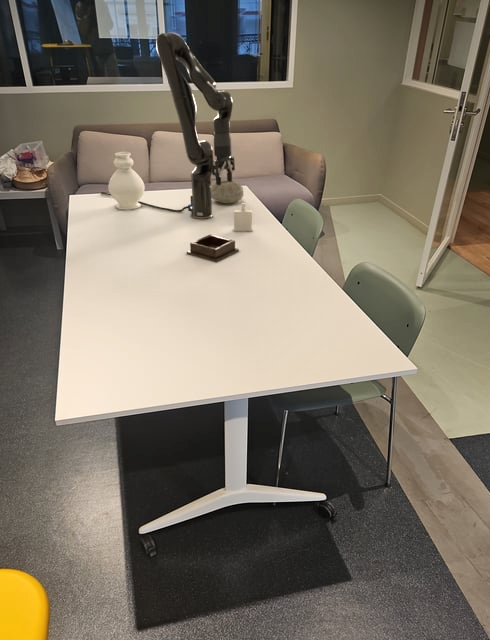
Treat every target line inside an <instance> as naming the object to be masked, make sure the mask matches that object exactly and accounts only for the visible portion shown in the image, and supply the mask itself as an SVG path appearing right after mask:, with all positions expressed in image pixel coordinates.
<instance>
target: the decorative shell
mask: <svg viewBox="0 0 490 640" xmlns="http://www.w3.org/2000/svg"><path fill="white" fill-rule="evenodd" d="M211 194H212V200H214V201H216V202H218V203H222V204H234V203H238V202H239V201H241V200H242V199H243V197H244V187H243V186H242V185H241V184H240V182H237V181H235V180H232V181H231V182H229V181H227V180H221V185H217V184H216V182H215V183H213V185H211Z"/></svg>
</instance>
